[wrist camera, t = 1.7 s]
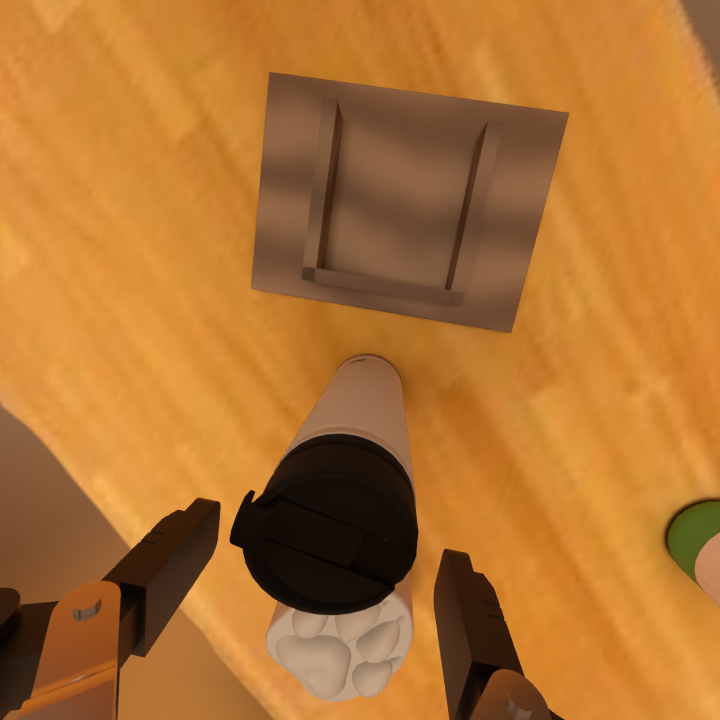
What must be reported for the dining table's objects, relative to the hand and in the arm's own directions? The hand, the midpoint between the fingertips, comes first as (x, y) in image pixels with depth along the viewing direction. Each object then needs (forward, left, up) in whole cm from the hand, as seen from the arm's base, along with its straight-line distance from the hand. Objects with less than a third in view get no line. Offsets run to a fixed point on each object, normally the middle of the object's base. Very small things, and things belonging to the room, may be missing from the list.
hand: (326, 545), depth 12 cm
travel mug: (0, 0, -20) cm, 20 cm away
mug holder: (-15, 0, -19) cm, 24 cm away
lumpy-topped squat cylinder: (+20, +2, -20) cm, 28 cm away
